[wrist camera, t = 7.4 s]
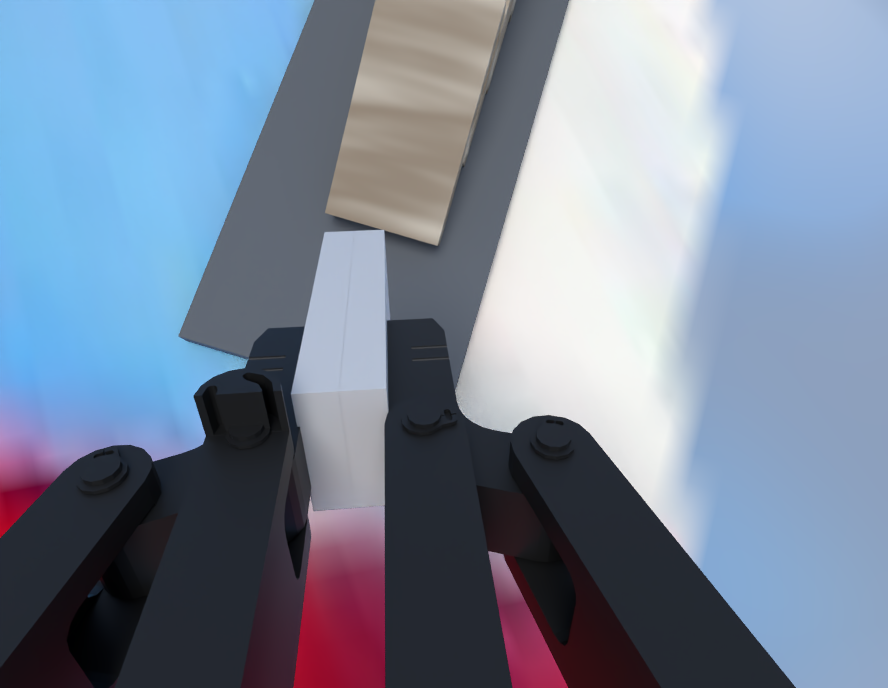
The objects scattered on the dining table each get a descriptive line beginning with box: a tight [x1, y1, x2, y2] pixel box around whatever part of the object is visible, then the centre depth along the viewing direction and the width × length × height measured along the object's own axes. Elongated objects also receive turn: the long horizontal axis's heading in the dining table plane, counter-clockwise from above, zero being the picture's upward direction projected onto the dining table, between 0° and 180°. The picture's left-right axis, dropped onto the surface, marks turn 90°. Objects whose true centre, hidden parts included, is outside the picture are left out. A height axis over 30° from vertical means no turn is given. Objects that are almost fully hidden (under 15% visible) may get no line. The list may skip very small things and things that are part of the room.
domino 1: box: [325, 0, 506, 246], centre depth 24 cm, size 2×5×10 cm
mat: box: [179, 0, 569, 389], centre depth 28 cm, size 30×12×1 cm, turn 164°
